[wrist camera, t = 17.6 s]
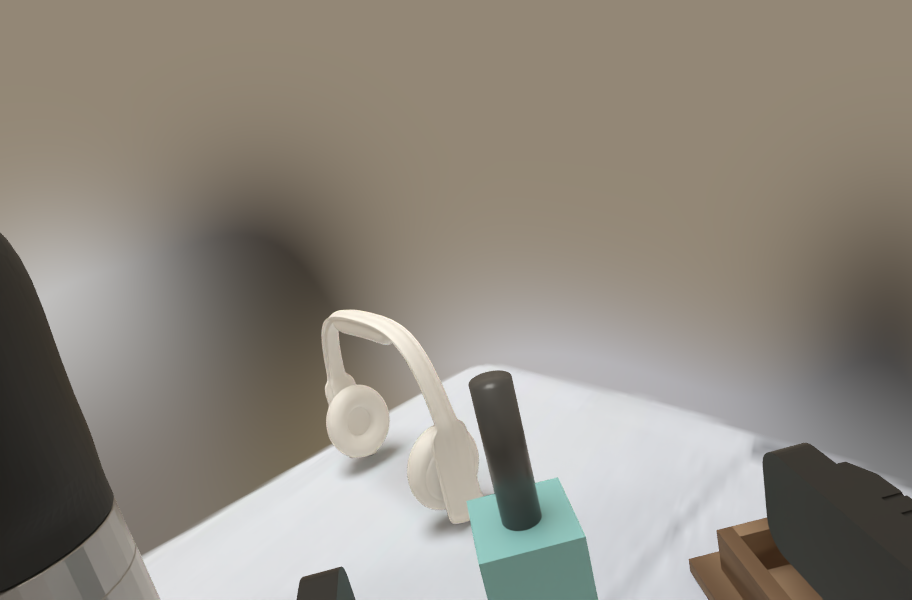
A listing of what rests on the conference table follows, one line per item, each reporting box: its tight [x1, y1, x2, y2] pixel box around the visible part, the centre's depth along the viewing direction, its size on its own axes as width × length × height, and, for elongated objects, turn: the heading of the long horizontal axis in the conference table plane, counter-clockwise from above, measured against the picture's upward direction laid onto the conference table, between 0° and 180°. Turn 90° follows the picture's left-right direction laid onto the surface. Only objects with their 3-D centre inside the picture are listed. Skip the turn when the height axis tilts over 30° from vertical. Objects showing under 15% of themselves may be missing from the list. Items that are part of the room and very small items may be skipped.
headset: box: [322, 310, 484, 524], centre depth 57 cm, size 20×7×18 cm, turn 39°
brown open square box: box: [689, 518, 823, 600], centre depth 37 cm, size 11×11×4 cm
